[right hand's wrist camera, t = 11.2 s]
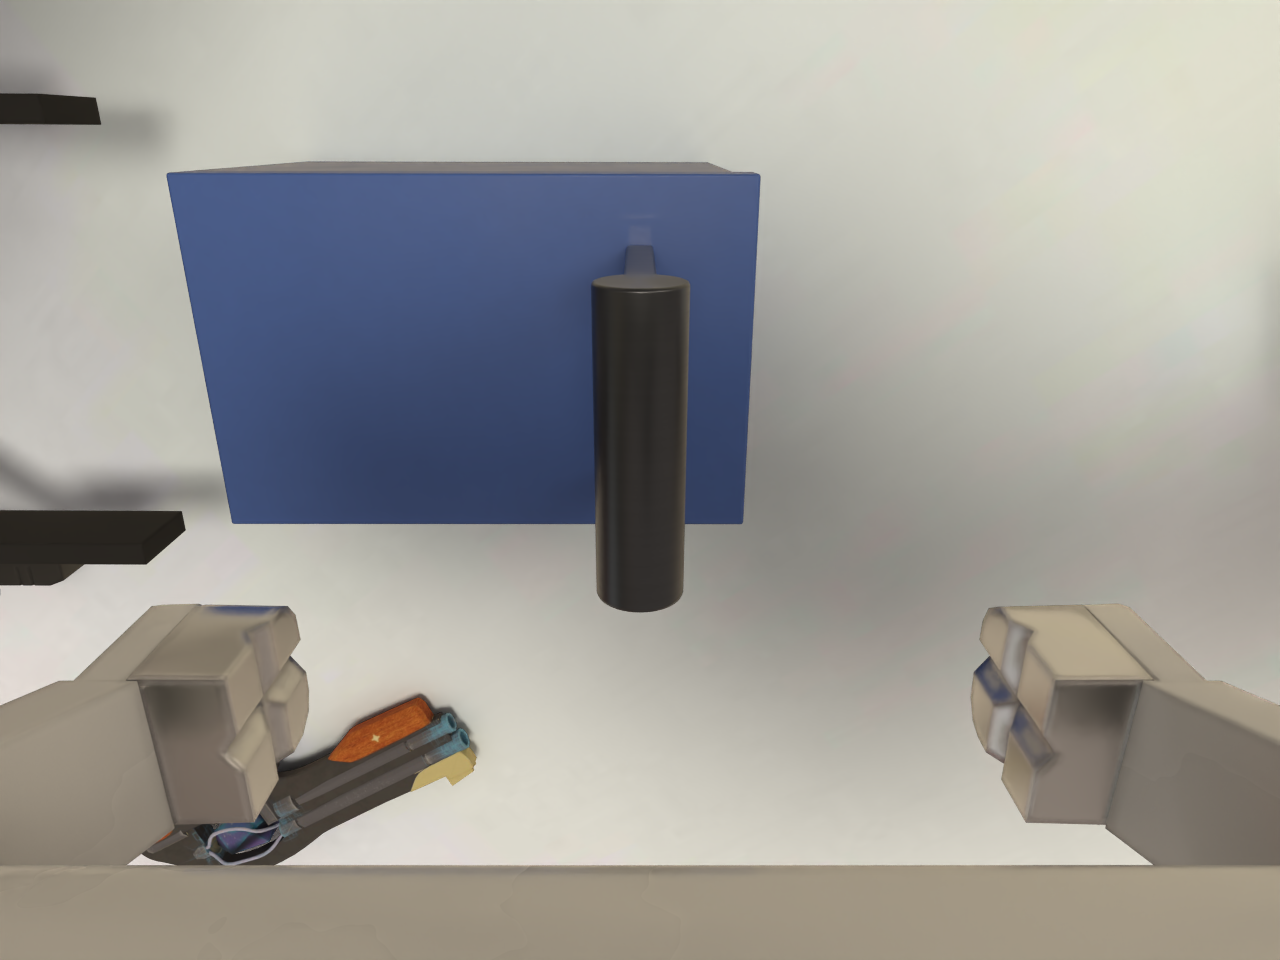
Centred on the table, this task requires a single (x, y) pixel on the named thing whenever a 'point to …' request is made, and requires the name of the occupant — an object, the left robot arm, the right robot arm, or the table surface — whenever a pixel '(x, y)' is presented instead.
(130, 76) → the table surface
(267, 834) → the toy gun
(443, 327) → the lid
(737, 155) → the table surface
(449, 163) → the chest
